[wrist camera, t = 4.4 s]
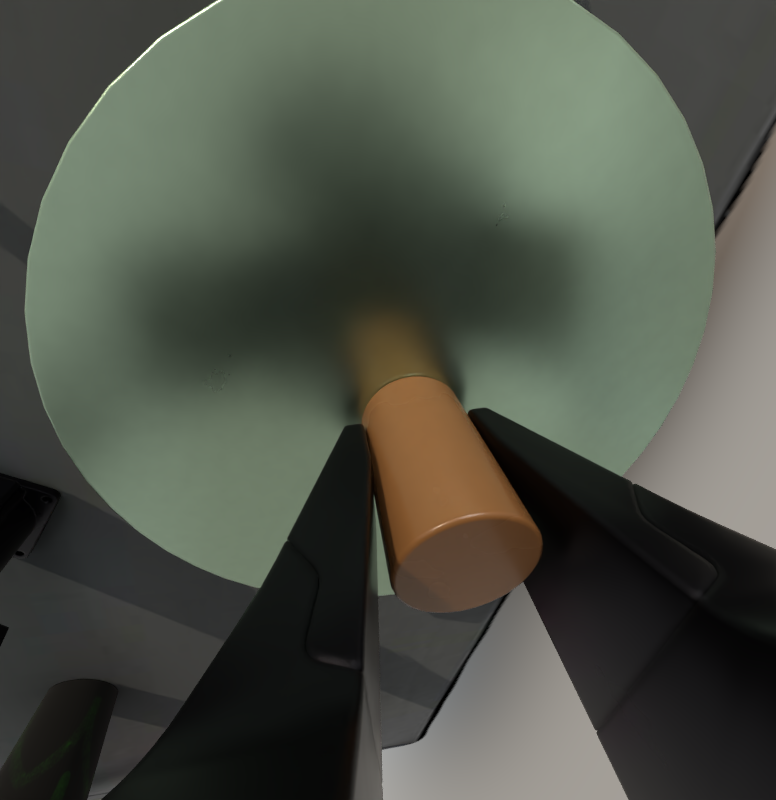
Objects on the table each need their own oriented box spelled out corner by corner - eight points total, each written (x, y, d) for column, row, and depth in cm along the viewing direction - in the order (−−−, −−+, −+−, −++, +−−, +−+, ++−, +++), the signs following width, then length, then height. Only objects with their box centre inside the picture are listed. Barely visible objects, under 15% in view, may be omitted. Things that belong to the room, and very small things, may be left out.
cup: (49, 716, 35) (-54, 932, 25) (18, 680, 32) (-120, 919, 22) (138, 704, 37) (74, 902, 27) (119, 668, 33) (34, 885, 23)
